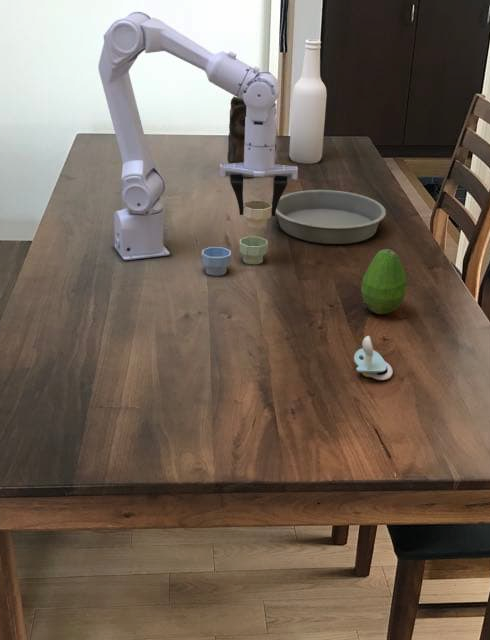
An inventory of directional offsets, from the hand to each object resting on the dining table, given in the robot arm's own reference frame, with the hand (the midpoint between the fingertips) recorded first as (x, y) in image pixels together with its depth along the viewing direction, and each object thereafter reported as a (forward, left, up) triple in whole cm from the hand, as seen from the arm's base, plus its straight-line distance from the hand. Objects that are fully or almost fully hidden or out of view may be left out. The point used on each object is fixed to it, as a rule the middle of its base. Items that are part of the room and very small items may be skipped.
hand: (257, 213), depth 172 cm
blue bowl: (-9, -2, -10) cm, 14 cm away
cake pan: (+23, +14, -10) cm, 29 cm away
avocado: (+13, -28, -10) cm, 32 cm away
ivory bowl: (0, 0, -2) cm, 2 cm away
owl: (+21, +57, -10) cm, 62 cm away
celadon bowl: (0, +1, -10) cm, 10 cm away
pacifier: (+1, -47, -10) cm, 48 cm away
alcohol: (+40, +62, -10) cm, 75 cm away
